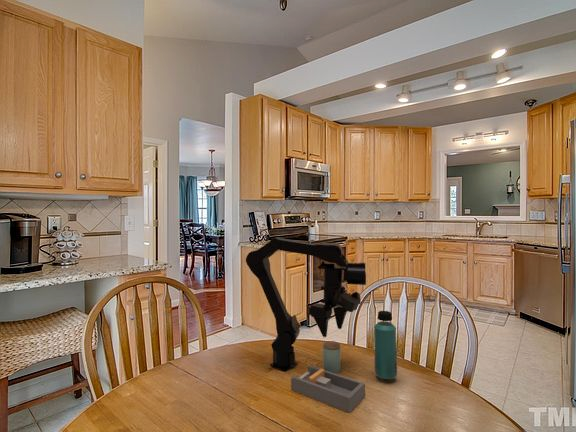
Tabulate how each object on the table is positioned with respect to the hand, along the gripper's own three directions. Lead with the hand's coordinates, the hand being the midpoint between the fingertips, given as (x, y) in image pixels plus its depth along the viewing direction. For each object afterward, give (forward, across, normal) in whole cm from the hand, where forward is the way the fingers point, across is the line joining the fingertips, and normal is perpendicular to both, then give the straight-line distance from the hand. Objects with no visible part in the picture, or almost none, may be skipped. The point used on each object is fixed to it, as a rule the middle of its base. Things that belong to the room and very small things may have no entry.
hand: (332, 332), depth 103 cm
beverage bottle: (+12, +5, -16) cm, 20 cm away
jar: (+12, +1, 0) cm, 12 cm away
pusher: (+11, -12, -4) cm, 17 cm away
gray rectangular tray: (+12, -12, -6) cm, 18 cm away
